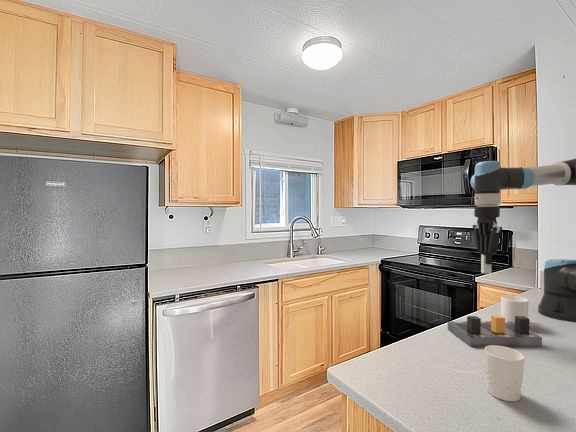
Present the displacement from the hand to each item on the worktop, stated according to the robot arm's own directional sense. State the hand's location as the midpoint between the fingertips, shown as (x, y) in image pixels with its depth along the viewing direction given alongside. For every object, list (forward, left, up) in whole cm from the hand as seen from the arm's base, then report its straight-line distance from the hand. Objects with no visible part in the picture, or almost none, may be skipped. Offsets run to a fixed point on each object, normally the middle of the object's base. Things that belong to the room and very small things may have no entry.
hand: (486, 272), depth 111 cm
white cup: (+18, +36, -22) cm, 46 cm away
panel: (0, +4, -21) cm, 22 cm away
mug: (-17, -8, -22) cm, 28 cm away
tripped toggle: (0, +7, -18) cm, 19 cm away
